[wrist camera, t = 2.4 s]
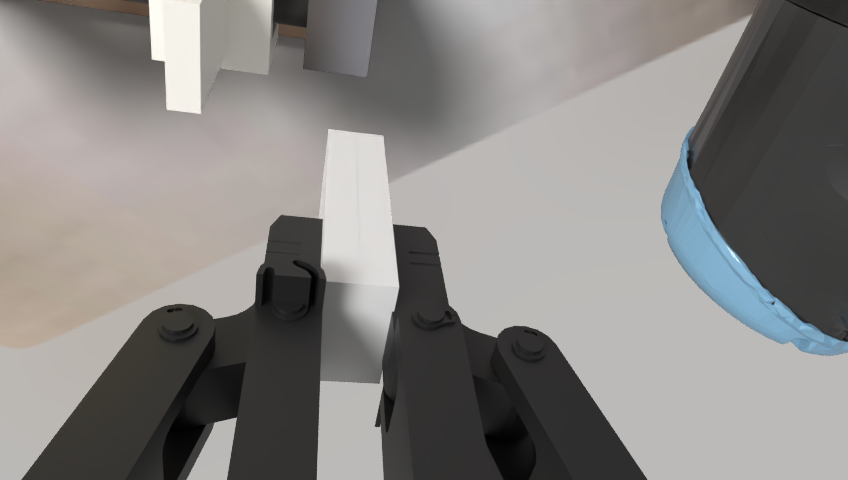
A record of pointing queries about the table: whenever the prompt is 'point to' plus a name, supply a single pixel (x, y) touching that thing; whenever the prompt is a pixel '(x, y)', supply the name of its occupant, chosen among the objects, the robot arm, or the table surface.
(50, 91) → the table surface
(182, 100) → the sleeve
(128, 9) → the cord rack
